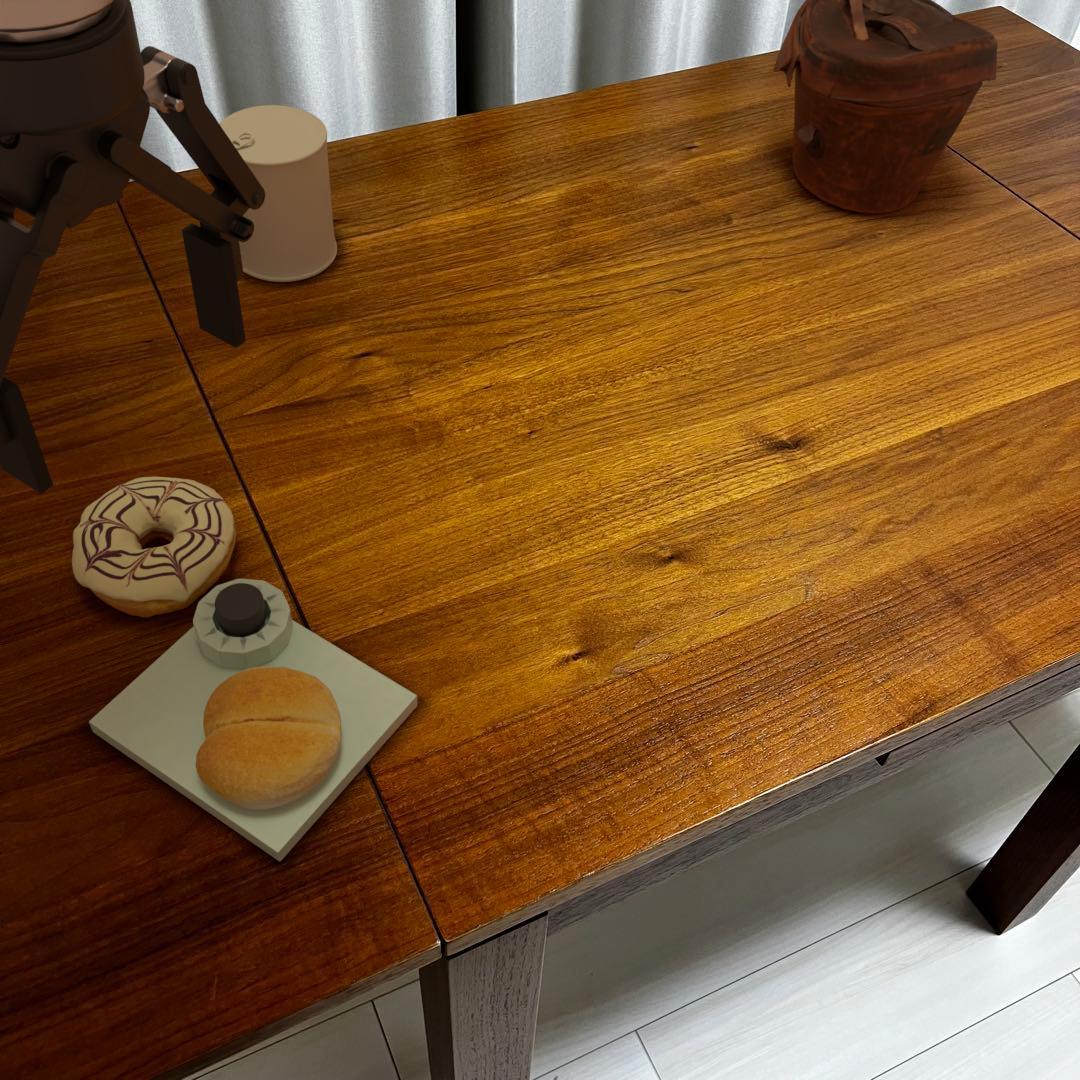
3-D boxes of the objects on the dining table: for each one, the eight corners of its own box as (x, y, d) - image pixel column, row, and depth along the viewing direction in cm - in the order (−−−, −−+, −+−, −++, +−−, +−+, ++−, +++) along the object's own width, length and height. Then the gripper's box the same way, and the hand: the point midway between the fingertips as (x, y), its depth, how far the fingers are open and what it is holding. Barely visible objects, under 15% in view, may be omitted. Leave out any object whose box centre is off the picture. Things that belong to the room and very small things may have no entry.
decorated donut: (55, 612, 79) (40, 576, 76) (114, 495, 86) (102, 458, 83) (210, 633, 78) (201, 597, 75) (256, 514, 85) (249, 477, 83)
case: (785, 111, 128) (824, -62, 114) (969, 164, 123) (1033, -11, 109) (728, 191, 117) (764, 10, 104) (927, 253, 112) (993, 71, 99)
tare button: (208, 622, 76) (204, 605, 74) (241, 592, 77) (237, 575, 76) (244, 644, 75) (240, 627, 73) (276, 613, 76) (273, 596, 75)
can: (211, 245, 106) (190, 121, 97) (298, 210, 111) (285, 87, 102) (270, 296, 102) (253, 171, 93) (358, 257, 106) (350, 134, 97)
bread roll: (191, 816, 68) (179, 781, 65) (214, 686, 74) (204, 648, 71) (336, 816, 69) (331, 781, 66) (348, 687, 75) (344, 649, 72)
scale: (92, 732, 73) (81, 705, 71) (244, 593, 81) (238, 564, 78) (280, 862, 68) (274, 837, 66) (422, 701, 76) (421, 674, 74)
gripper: (-202, 173, 38) (-14, 586, 54) (315, -75, 52) (341, 310, 68) (-345, 92, 40) (-124, 512, 56) (187, -125, 54) (242, 259, 70)
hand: (131, 402), depth 62 cm, fingers open, 13 cm apart
